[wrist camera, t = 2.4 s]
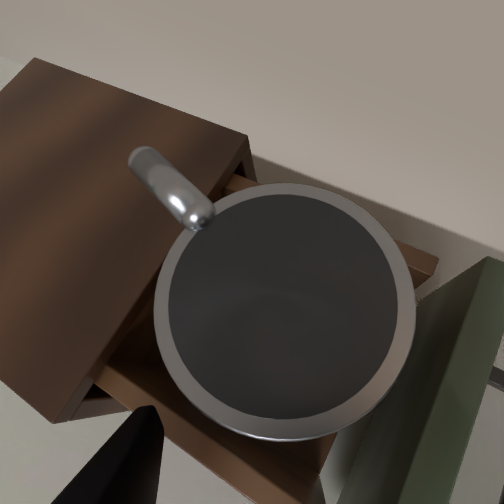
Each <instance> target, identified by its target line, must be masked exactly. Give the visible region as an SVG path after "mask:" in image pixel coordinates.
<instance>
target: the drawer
mask: <svg viewBox="0 0 504 504" xmlns="http://www.w3.org/2000/svg"><path fill="white" fill-rule="evenodd" d="M259 185H261V184H259V183H256V182H254V181H252V180H249V179H247V178H244V177H242V176H239V175H237V174H235V173H233V174H232V175H231V177H230V178H229V180H228V181H227V183H226V184H225V186H224V187H223V189H222V190H221V192H220V193H219V195H218V196H217V198H216V199H215V201H214V202H213V204H214V203H215V202H217V201H219V200H220V199H222V198H224V197H226V196H228V195H231V194H233V193H235V192H238V191H241V190H244V189H247V188H250V187H254V186H259ZM393 240H394V242H395V243H396V244H397V246H398V248H399V250H400V252H401V254H402V256H403V257H404V259H405V262H406V264H407V267H408V270H409V272H410V275H411V278H412V283H413V287H414V290H415V289H416V288H417V287H418V286H420V285H421V284H422V283H423V282H425V281H426V280H427V279H429V278H430V277H431V276H432V275H433V273H434V270H435V268H436V266H437V263H438V261H439V258H438V257H436V256H433V255H431V254H429V253H426V252H424V251H421V250H419V249H416V248H414V247H412V246H409V245H407V244H404V243H402V242H399V241H397V240H395V239H393ZM154 298H155V291H154V293H153V294H152V296H151V297H150V299H149V300H148V302H147V303H146V305H145V306H144V308H143V309H142V311H141V312H140V314H139V315H138V317H137V318H136V320H135V321H134V323H133V324H132V326H131V327H130V329H129V330H128V332H127V333H126V335H125V336H124V338H123V339H122V341H121V342H120V344H119V345H118V347H117V348H116V350H115V351H114V353H113V354H112V356H111V357H110V359H109V360H108V362H107V363H106V365H105V366H104V368H103V369H102V371H101V372H100V374H99V376H98V377H97V379H96V380H95V382H94V384H96V385H97V386H98V387H100V388H101V389H102V390H104V391H105V392H106V393H108V394H109V395H110V396H112V397H113V398H114V399H116V400H117V401H118V402H120V403H121V404H122V405H124V406H125V407H126V408H128V409H129V410H130V411H132V412H134V410H135V409H137V408H138V407H141V406H147V405H153V406H155V408H156V410H157V412H158V414H159V417H160V419H161V421H162V424H163V427H164V436H165V437H166V438H168V439H169V440H170V441H172V442H173V443H174V444H176V445H177V446H178V447H180V448H181V449H182V450H184V451H185V452H186V453H188V454H189V455H190V456H192V457H193V458H194V459H196V460H197V461H198V462H200V463H201V464H202V465H204V466H205V467H206V468H208V469H209V470H210V471H212V472H213V473H214V474H216V475H217V476H218V477H220V478H221V479H222V480H224V481H225V482H226V483H228V484H229V485H230V486H232V487H233V488H234V489H236V490H237V491H239V492H240V493H241V494H243V495H244V496H245V497H247V498H248V499H249V500H251V501H252V502H253V503H255V504H326V502H325V498H324V493H323V489H322V484H321V480H320V476H319V474H320V472H321V469H322V467H323V465H324V462H325V460H326V458H327V455H328V453H329V451H330V449H331V446H332V444H333V442H334V439H335V437H336V435H337V432H338V431H337V432H335V433H332V434H329V435H326V436H323V437H320V438H316V439H310V440H304V441H298V442H274V441H267V440H260V439H255V438H252V437H248V436H245V435H241V434H238V433H236V432H234V431H232V430H230V429H227V428H225V427H223V426H221V425H219V424H218V423H216V422H215V421H213V420H212V419H210V418H209V417H207V416H206V415H204V414H203V413H202V412H201V411H200V410H199V409H197V408H196V407H195V406H194V405H193V404H192V403H191V402H190V401H189V400H188V399H187V398H186V396H185V395H184V394H183V393H182V392H181V391H180V390H179V388H178V386H177V385H176V383H175V382H174V380H173V379H172V377H171V376H170V374H169V372H168V370H167V368H166V366H165V363H164V361H163V359H162V356H161V353H160V350H159V347H158V343H157V339H156V333H155V327H154ZM503 333H504V262H502V261H500V260H497V259H494V258H492V257H489V256H487V257H485V258H484V259H482V260H481V261H479V262H478V263H476V264H475V265H473V266H472V267H470V268H469V269H467V270H466V271H464V272H462V273H461V274H459V275H458V276H456V277H455V278H453V279H452V280H450V281H449V282H447V283H446V284H444V285H443V286H441V287H440V288H438V289H437V290H435V291H434V292H432V293H431V294H429V295H428V296H426V297H425V298H423V299H422V300H420V302H419V305H418V307H417V310H416V328H415V334H414V339H413V344H412V348H411V351H410V354H409V357H408V359H407V362H406V365H405V367H404V369H403V371H402V372H401V374H400V376H399V378H398V380H397V382H396V383H395V384H394V386H393V387H392V388H391V390H390V391H389V392H388V394H387V395H386V396H385V398H384V399H383V400H382V401H381V402H380V403H379V404H378V405H377V407H376V410H375V412H374V414H373V417H372V419H371V422H370V424H369V427H368V429H367V431H366V434H365V436H364V439H363V441H362V444H361V446H360V449H359V451H358V453H357V456H356V458H355V461H354V463H353V466H352V468H351V470H350V473H349V475H348V478H347V480H346V483H345V485H344V488H343V490H342V492H341V495H340V497H339V500H338V502H337V504H449V500H450V497H451V494H452V491H453V488H454V484H455V481H456V478H457V475H458V472H459V469H460V466H461V463H462V460H463V457H464V453H465V450H466V447H467V444H468V441H469V438H470V435H471V432H472V429H473V426H474V423H475V419H476V416H477V413H478V410H479V407H480V404H481V401H482V398H483V395H484V392H485V388H486V385H487V384H489V385H491V386H493V387H495V388H497V389H499V390H501V391H503V392H504V371H503V370H501V369H499V368H497V367H494V366H493V364H494V361H495V357H496V354H497V351H498V348H499V345H500V342H501V339H502V336H503ZM499 504H504V486H503V490H502V493H501V497H500V500H499Z"/></svg>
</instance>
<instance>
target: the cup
mask: <svg viewBox="0 0 504 504" xmlns="http://www.w3.org/2000/svg"><path fill="white" fill-rule="evenodd" d="M128 167H129V170H130V172H131V173H132V175H133V176H134V177H135V178H136V179H137V180H138V181H139V182H140V183H141V184H142V185H143V186H144V187H145V188H146V189H147V190H148V191H149V192H150V193H151V194H152V195H153V196H154V197H155V198H156V199H157V201H158V202H159V203H160V204H161V205H162V206H163V207H164V208H165V209H166V210H167V211H168V212H169V213H170V214H171V215H172V216H173V217H174V218H175V219H176V220H177V221H178V222H179V223H180V224H181V225H182V226H183V227H184V228H185V229H184V230H183V231H182V232H181V234H180V235H179V236H178V237H177V239H176V241H175V242H174V244H173V245H172V247H171V248H170V250H169V252H168V254H167V256H166V258H165V260H164V262H163V265H162V268H161V271H160V274H159V277H158V281H157V285H156V290H155V298H154V327H155V333H156V339H157V343H158V347H159V350H160V353H161V356H162V359H163V361H164V363H165V366H166V368H167V370H168V372H169V374H170V376H171V377H172V379H173V380H174V382H175V383H176V385H177V386H178V388H179V390H180V391H181V392H182V393H183V394H184V395H185V396H186V398H187V399H188V400H189V401H190V402H191V403H192V404H193V405H194V406H195V407H196V408H197V409H199V410H200V411H201V412H202V413H203V414H204V415H206V416H207V417H209V418H210V419H212V420H213V421H215V422H216V423H218V424H219V425H221V426H223V427H225V428H227V429H230V430H232V431H234V432H236V433H238V434H241V435H245V436H248V437H252V438H255V439H260V440H267V441H274V442H298V441H304V440H310V439H316V438H320V437H323V436H326V435H329V434H332V433H335V432H337V431H339V430H341V429H343V428H345V427H347V426H349V425H351V424H353V423H355V422H356V421H358V420H359V419H361V418H362V417H363V416H365V415H366V414H368V413H369V412H370V411H371V410H372V409H373V408H374V407H375V406H376V405H378V404H379V403H380V402H381V401H382V400H383V399H384V398H385V396H386V395H387V394H388V392H389V391H390V390H391V388H392V387H393V386H394V384H395V383H396V382H397V380H398V378H399V376H400V374H401V372H402V371H403V369H404V367H405V365H406V362H407V359H408V357H409V354H410V351H411V348H412V344H413V339H414V334H415V328H416V300H415V292H414V287H413V283H412V278H411V275H410V272H409V270H408V267H407V264H406V262H405V259H404V257H403V256H402V254H401V252H400V250H399V248H398V246H397V244H396V243H395V242H394V240H393V239H392V237H391V236H390V235H389V233H388V232H387V231H386V230H385V229H384V227H383V226H382V225H381V224H380V223H379V222H378V221H377V220H376V219H375V218H374V217H373V216H371V215H370V214H369V213H368V212H367V211H365V210H364V209H363V208H361V207H360V206H358V205H357V204H355V203H354V202H352V201H351V200H349V199H347V198H345V197H343V196H341V195H339V194H336V193H334V192H331V191H328V190H325V189H323V188H319V187H314V186H310V185H304V184H296V183H274V184H264V185H259V186H254V187H250V188H247V189H244V190H241V191H238V192H235V193H233V194H231V195H228V196H226V197H224V198H222V199H220V200H219V201H217V202H215V203H214V204H213V203H212V202H211V200H210V199H208V198H207V197H206V196H205V195H204V194H203V193H202V192H201V191H200V190H199V189H198V188H197V187H196V186H195V185H193V184H192V183H191V182H190V181H189V180H188V179H187V178H186V177H185V176H184V175H183V174H182V173H181V172H179V171H178V170H177V169H176V168H175V167H174V166H173V165H172V164H171V163H170V162H169V161H168V160H167V159H166V158H164V157H163V156H162V155H161V154H160V153H159V152H158V151H157V150H155V149H154V148H152V147H149V146H140V147H137V148H135V149H134V150H133V151H132V152H131V153H130V155H129V158H128Z"/></svg>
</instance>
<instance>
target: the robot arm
mask: <svg viewBox="0 0 504 504" xmlns="http://www.w3.org/2000/svg"><path fill="white" fill-rule="evenodd" d="M163 442H164V427H163V424H162V421H161V419H160V417H159V414H158V412H157V410H156V408H155V406H153V405H147V406H141V407H138V408H137V409H135V410H134V412H133V413H132V414H131V415H130V416H129V417H128V418H127V419H126V420H125V422H124V423H123V424H122V425H121V426H120V427H119V428H118V429H117V430H116V432H115V433H114V434H113V435H112V436H111V437H110V438H109V439H108V440H107V442H106V443H105V444H104V445H103V446H102V447H101V448H100V449H99V450H98V452H97V453H96V454H95V455H94V456H93V457H92V458H91V459H90V460H89V462H88V463H87V464H86V465H85V466H84V467H83V468H82V469H81V471H80V472H79V473H78V474H77V475H76V476H75V477H74V478H73V479H72V481H71V482H70V483H69V484H68V485H67V486H66V487H65V488H64V489H63V491H62V492H61V493H60V494H59V495H58V496H57V497H56V498H55V499H54V501H53V502H52V503H51V504H156V499H157V492H158V484H159V475H160V467H161V459H162V451H163Z"/></svg>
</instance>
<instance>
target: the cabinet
mask: <svg viewBox="0 0 504 504" xmlns="http://www.w3.org/2000/svg"><path fill="white" fill-rule="evenodd" d="M140 146H149V147H152V148H154V149H155V150H157V151H158V152H159V153H160V154H161V155H162V156H163V157H164V158H166V159H167V160H168V161H169V162H170V163H171V164H172V165H173V166H174V167H175V168H176V169H177V170H178V171H179V172H181V173H182V174H183V175H184V176H185V177H186V178H187V179H188V180H189V181H190V182H191V183H192V184H193V185H195V186H196V187H197V188H198V189H199V190H200V191H201V192H202V193H203V194H204V195H205V196H206V197H207V198H208V199H210V200H211V202H212V203H213V202H214V201H215V199H216V198H217V196H218V195H219V193H220V192H221V190H222V189H223V187H224V186H225V184H226V183H227V181H228V180H229V178H230V177H231V175H232V174H233V173H235V174H237V175H239V176H242V177H244V178H247V179H249V180H252V181H254V182H256V183H257V179H256V174H255V169H254V165H253V160H252V155H251V150H250V145H249V140H248V136H247V135H245V134H242V133H240V132H237V131H234V130H231V129H228V128H226V127H223V126H220V125H218V124H215V123H212V122H210V121H207V120H204V119H201V118H199V117H196V116H193V115H190V114H187V113H185V112H182V111H180V110H177V109H174V108H171V107H169V106H166V105H163V104H160V103H158V102H155V101H152V100H150V99H147V98H144V97H141V96H139V95H136V94H133V93H130V92H128V91H125V90H122V89H119V88H117V87H114V86H111V85H109V84H106V83H103V82H100V81H98V80H95V79H92V78H90V77H87V76H84V75H81V74H79V73H76V72H73V71H70V70H68V69H65V68H62V67H60V66H57V65H54V64H51V63H48V62H46V61H43V60H41V59H38V58H33V59H32V60H31V61H30V62H29V63H28V64H27V65H26V66H25V67H24V68H23V69H22V70H21V71H20V72H19V73H18V74H17V75H16V76H15V77H14V78H13V79H12V80H11V81H10V82H9V83H8V84H7V85H6V86H5V87H4V88H3V89H2V90H1V91H0V380H1V381H2V382H3V383H4V384H6V385H7V386H8V387H9V388H10V389H12V390H13V391H14V392H15V393H16V394H17V395H19V396H20V397H21V398H22V399H23V400H25V401H26V402H27V403H28V404H29V405H30V406H32V407H33V408H34V409H35V410H36V411H38V412H39V413H40V414H41V415H42V416H43V417H45V418H46V419H47V420H48V421H49V422H51V423H52V424H56V423H62V422H67V421H73V420H79V419H84V418H90V417H96V416H102V415H107V414H113V413H119V412H125V411H130V410H129V409H128V408H126V407H125V406H124V405H122V404H121V403H120V402H118V401H117V400H116V399H114V398H113V397H112V396H110V395H109V394H108V393H106V392H105V391H104V390H102V389H101V388H100V387H98V386H97V385H96V384H94V382H95V380H96V379H97V377H98V376H99V374H100V372H101V371H102V369H103V368H104V366H105V365H106V363H107V362H108V360H109V359H110V357H111V356H112V354H113V353H114V351H115V350H116V348H117V347H118V345H119V344H120V342H121V341H122V339H123V338H124V336H125V335H126V333H127V332H128V330H129V329H130V327H131V326H132V324H133V323H134V321H135V320H136V318H137V317H138V315H139V314H140V312H141V311H142V309H143V308H144V306H145V305H146V303H147V302H148V300H149V299H150V297H151V296H152V294H153V293H154V291H155V290H156V285H157V281H158V277H159V274H160V271H161V268H162V265H163V262H164V260H165V258H166V256H167V254H168V252H169V250H170V248H171V247H172V245H173V244H174V242H175V241H176V239H177V237H178V236H179V235H180V234H181V232H182V231H183V230H184V229H185V228H184V227H183V226H182V225H181V224H180V223H179V222H178V221H177V220H176V219H175V218H174V217H173V216H172V215H171V214H170V213H169V212H168V211H167V210H166V209H165V208H164V207H163V206H162V205H161V204H160V203H159V202H158V201H157V199H156V198H155V197H154V196H153V195H152V194H151V193H150V192H149V191H148V190H147V189H146V188H145V187H144V186H143V185H142V184H141V183H140V182H139V181H138V180H137V179H136V178H135V177H134V176H133V175H132V173H131V172H130V170H129V167H128V158H129V155H130V153H131V152H132V151H133V150H134V149H135V148H137V147H140Z"/></svg>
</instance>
